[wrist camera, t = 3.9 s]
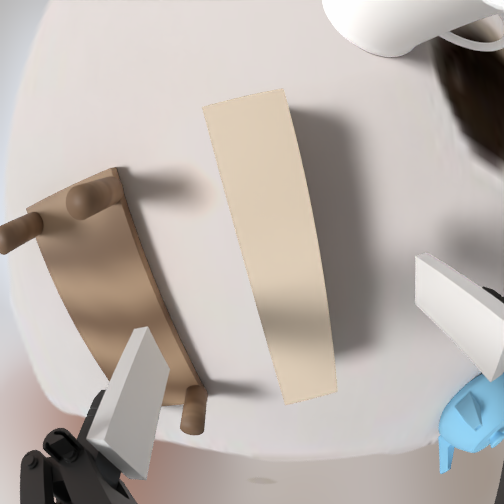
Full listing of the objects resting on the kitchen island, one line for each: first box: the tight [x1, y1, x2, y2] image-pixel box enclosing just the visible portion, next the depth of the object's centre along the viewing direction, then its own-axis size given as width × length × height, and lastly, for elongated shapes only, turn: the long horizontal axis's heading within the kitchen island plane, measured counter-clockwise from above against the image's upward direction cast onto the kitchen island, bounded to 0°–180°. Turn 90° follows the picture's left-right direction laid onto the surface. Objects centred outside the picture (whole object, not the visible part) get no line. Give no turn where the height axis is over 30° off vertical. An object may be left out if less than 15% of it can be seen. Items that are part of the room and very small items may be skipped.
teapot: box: [439, 372, 504, 474], centre depth 26 cm, size 15×15×11 cm
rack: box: [0, 167, 208, 435], centre depth 20 cm, size 22×10×6 cm, turn 14°
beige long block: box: [202, 89, 338, 405], centre depth 19 cm, size 20×4×6 cm, turn 14°
